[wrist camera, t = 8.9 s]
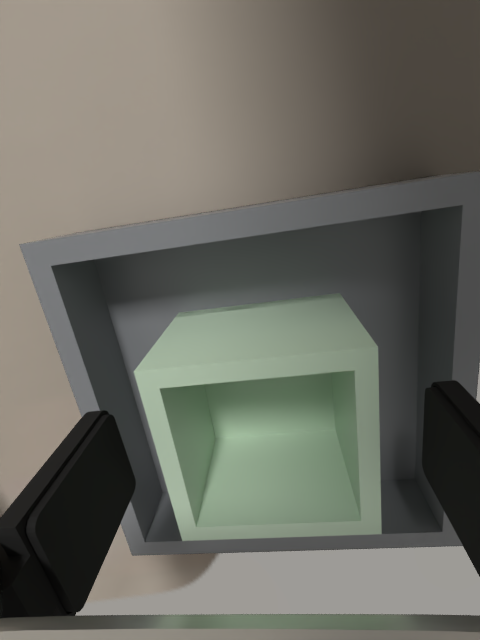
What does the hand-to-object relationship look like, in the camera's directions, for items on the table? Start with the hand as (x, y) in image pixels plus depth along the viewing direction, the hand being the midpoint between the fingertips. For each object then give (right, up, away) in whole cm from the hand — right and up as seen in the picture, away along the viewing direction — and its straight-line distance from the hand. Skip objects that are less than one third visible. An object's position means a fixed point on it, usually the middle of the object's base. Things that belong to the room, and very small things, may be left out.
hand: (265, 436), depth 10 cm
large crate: (0, +1, +5) cm, 5 cm away
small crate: (0, +1, +5) cm, 5 cm away
